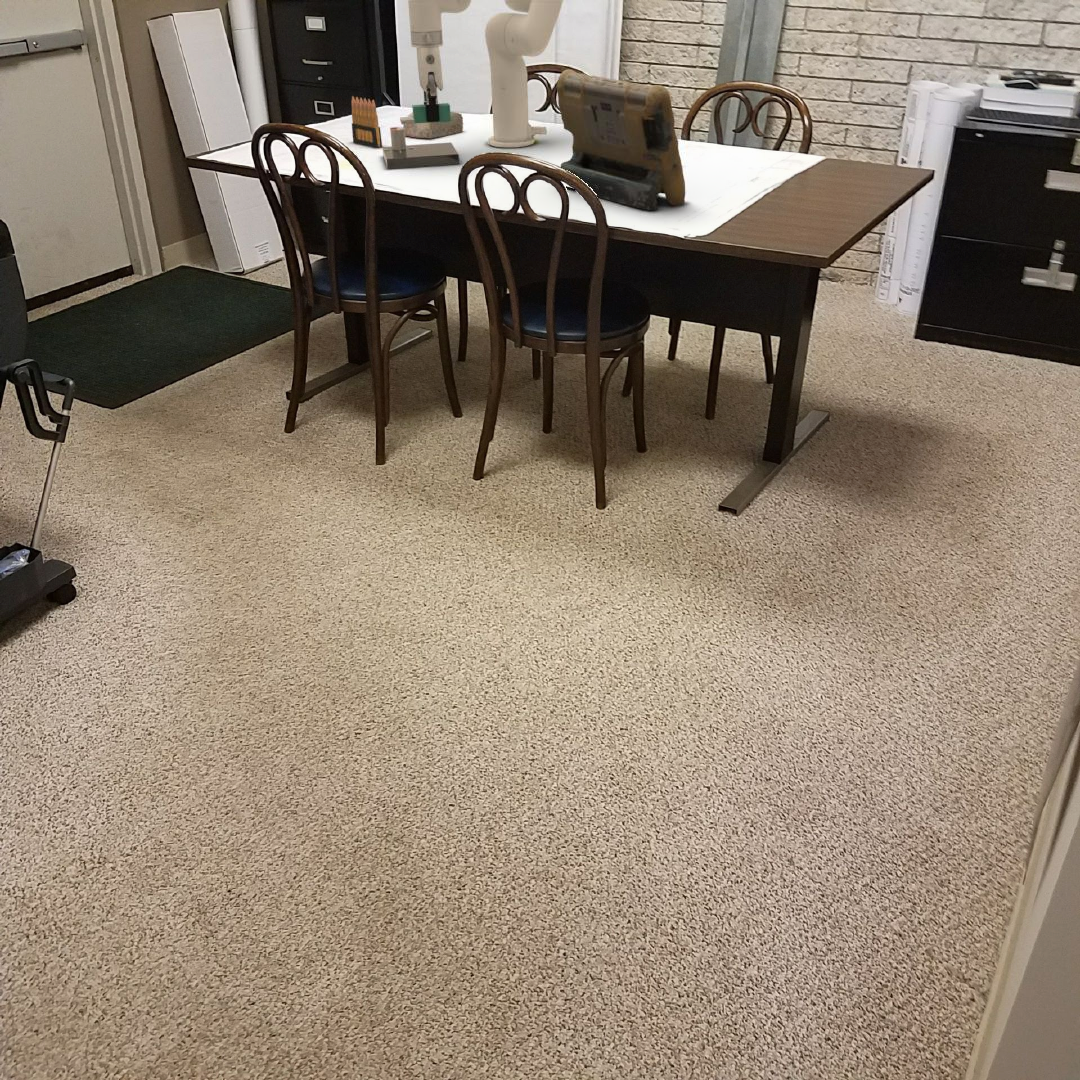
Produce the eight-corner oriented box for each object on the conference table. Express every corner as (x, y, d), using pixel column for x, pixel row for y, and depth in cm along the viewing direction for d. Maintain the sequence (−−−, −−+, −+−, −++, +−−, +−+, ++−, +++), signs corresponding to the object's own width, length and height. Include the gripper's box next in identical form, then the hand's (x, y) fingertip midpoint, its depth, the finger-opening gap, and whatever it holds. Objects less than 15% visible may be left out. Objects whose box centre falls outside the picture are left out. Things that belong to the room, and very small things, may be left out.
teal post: (451, 121, 263) (450, 105, 261) (401, 124, 261) (400, 108, 259) (449, 118, 266) (448, 102, 264) (400, 121, 264) (399, 105, 262)
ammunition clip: (382, 147, 286) (377, 99, 279) (377, 148, 285) (372, 100, 278) (358, 141, 292) (353, 95, 286) (353, 142, 291) (347, 96, 285)
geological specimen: (465, 112, 298) (426, 118, 288) (465, 135, 301) (426, 141, 291) (438, 107, 304) (399, 112, 294) (438, 129, 307) (400, 135, 297)
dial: (405, 147, 273) (403, 125, 271) (406, 150, 270) (404, 128, 268) (391, 147, 273) (389, 126, 270) (392, 151, 270) (390, 129, 267)
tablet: (696, 200, 233) (703, 78, 219) (655, 214, 225) (659, 87, 211) (588, 177, 253) (588, 63, 239) (547, 188, 245) (544, 71, 231)
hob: (451, 152, 279) (451, 141, 277) (459, 164, 267) (458, 153, 266) (383, 157, 276) (382, 146, 274) (387, 169, 264) (386, 158, 263)
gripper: (446, 42, 247) (451, 125, 257) (438, 34, 261) (443, 113, 271) (414, 44, 246) (420, 127, 256) (407, 35, 260) (413, 115, 270)
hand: (432, 119), depth 263 cm, fingers closed on teal post, 3 cm apart
